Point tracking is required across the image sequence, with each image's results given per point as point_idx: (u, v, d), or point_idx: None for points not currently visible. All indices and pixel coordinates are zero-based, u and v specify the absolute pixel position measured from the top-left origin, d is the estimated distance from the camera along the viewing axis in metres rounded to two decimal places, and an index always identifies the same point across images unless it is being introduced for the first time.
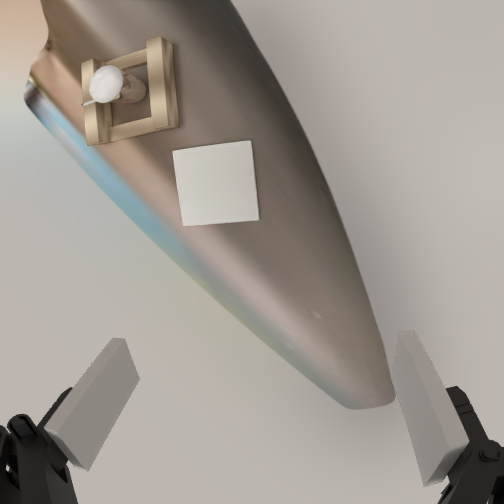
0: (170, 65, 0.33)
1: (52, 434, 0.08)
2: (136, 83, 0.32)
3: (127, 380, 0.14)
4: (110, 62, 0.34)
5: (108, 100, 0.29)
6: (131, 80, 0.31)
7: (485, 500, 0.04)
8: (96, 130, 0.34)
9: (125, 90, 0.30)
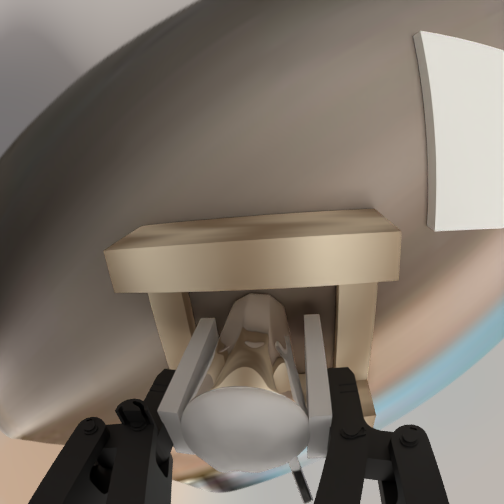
0: (197, 226, 0.14)
1: (167, 416, 0.10)
2: (245, 325, 0.13)
3: None
4: None
5: (308, 429, 0.09)
6: (238, 345, 0.12)
7: (361, 475, 0.06)
8: None
9: (276, 370, 0.10)
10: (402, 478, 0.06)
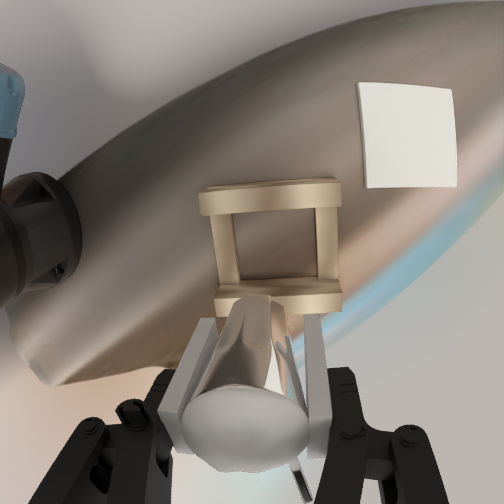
0: (243, 185, 0.28)
1: (167, 417, 0.10)
2: (245, 325, 0.13)
3: None
4: (222, 275, 0.32)
5: (308, 429, 0.09)
6: (238, 345, 0.12)
7: (361, 475, 0.06)
8: (325, 295, 0.28)
9: (276, 370, 0.10)
10: (402, 478, 0.06)
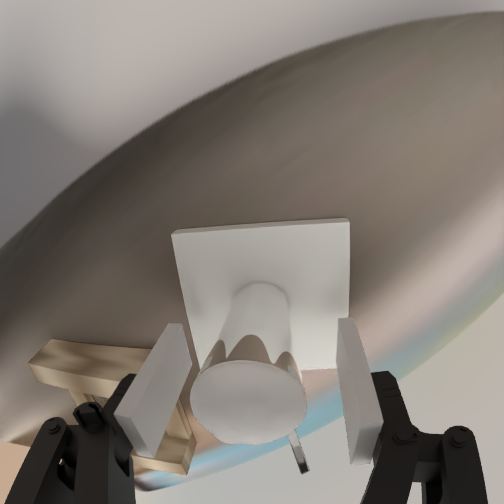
0: (70, 350, 0.22)
1: (123, 420, 0.09)
2: (249, 309, 0.15)
3: (183, 364, 0.15)
4: None
5: (304, 401, 0.11)
6: (242, 326, 0.13)
7: (409, 481, 0.06)
8: (164, 462, 0.22)
9: (276, 347, 0.12)
10: (449, 478, 0.05)
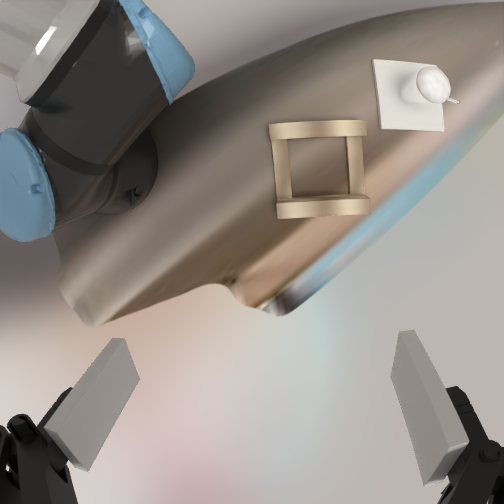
0: None
1: (52, 434, 0.08)
2: None
3: (127, 380, 0.14)
4: (279, 191, 0.41)
5: (449, 83, 0.26)
6: None
7: (485, 500, 0.04)
8: (357, 200, 0.38)
9: None
10: None
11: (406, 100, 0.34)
